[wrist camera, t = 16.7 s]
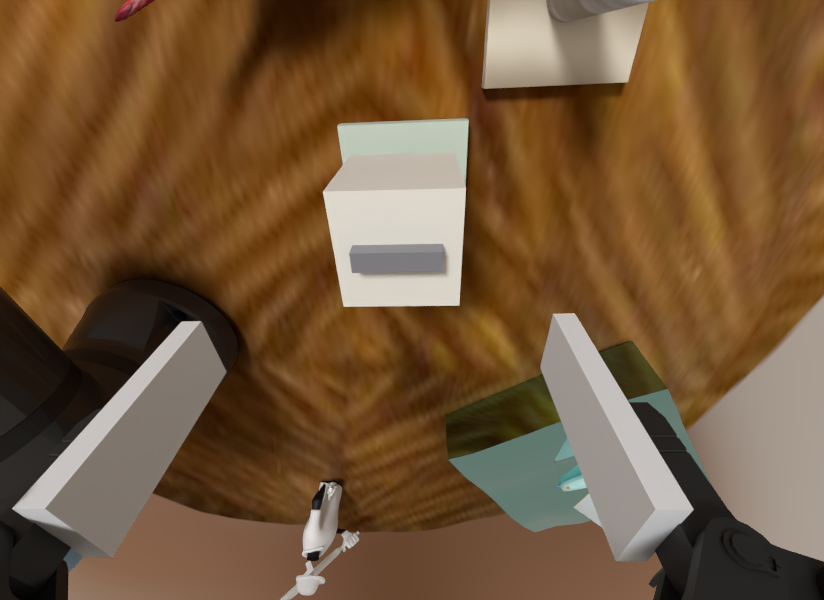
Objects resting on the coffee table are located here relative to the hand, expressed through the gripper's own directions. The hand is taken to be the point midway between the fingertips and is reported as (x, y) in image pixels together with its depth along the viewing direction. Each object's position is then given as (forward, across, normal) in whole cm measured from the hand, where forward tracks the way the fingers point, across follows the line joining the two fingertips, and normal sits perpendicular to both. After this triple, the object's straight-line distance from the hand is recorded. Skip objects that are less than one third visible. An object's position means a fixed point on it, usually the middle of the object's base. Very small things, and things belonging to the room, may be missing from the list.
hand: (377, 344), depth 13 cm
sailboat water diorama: (+21, +22, -35) cm, 46 cm away
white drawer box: (+15, 0, 0) cm, 15 cm away
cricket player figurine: (+21, -15, -52) cm, 58 cm away
